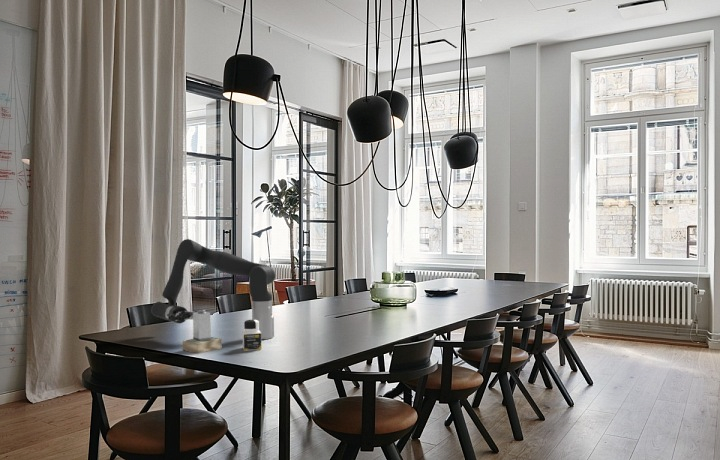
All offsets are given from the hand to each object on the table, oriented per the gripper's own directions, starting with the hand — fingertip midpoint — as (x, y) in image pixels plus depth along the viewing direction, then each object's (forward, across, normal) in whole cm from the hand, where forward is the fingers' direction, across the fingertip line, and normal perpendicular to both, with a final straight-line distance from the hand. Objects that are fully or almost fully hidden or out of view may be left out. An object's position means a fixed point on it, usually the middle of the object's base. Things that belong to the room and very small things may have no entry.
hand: (191, 317), depth 252 cm
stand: (+11, 0, +12) cm, 16 cm away
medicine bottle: (+24, +16, +12) cm, 32 cm away
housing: (+11, 0, +8) cm, 14 cm away
